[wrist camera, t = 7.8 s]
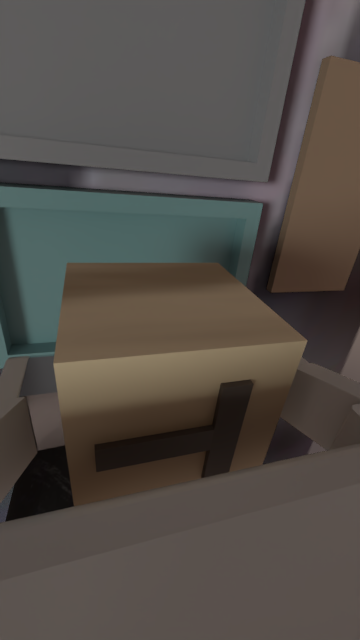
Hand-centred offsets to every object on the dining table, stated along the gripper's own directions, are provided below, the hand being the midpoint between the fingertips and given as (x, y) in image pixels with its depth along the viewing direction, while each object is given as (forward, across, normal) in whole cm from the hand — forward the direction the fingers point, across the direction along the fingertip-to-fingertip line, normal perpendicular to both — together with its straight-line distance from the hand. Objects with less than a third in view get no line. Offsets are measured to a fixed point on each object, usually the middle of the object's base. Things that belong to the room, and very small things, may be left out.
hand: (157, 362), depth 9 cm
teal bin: (+9, 0, +1) cm, 9 cm away
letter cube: (+2, 0, 0) cm, 2 cm away
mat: (+9, -12, -4) cm, 16 cm away
